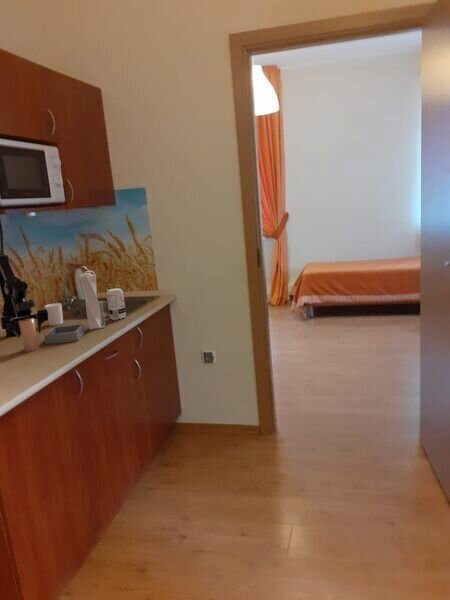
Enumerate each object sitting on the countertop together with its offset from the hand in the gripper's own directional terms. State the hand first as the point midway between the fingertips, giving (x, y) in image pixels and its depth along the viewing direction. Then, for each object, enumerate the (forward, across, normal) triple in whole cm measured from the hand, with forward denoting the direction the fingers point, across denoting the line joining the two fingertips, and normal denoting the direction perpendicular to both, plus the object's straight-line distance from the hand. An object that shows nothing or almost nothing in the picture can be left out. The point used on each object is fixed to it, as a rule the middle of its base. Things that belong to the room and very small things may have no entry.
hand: (29, 335), depth 199 cm
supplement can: (-12, +46, +22) cm, 52 cm away
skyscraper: (-5, +32, +15) cm, 35 cm away
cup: (+4, 0, +6) cm, 7 cm away
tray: (-1, +16, +10) cm, 19 cm away
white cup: (-24, +18, +33) cm, 45 cm away
